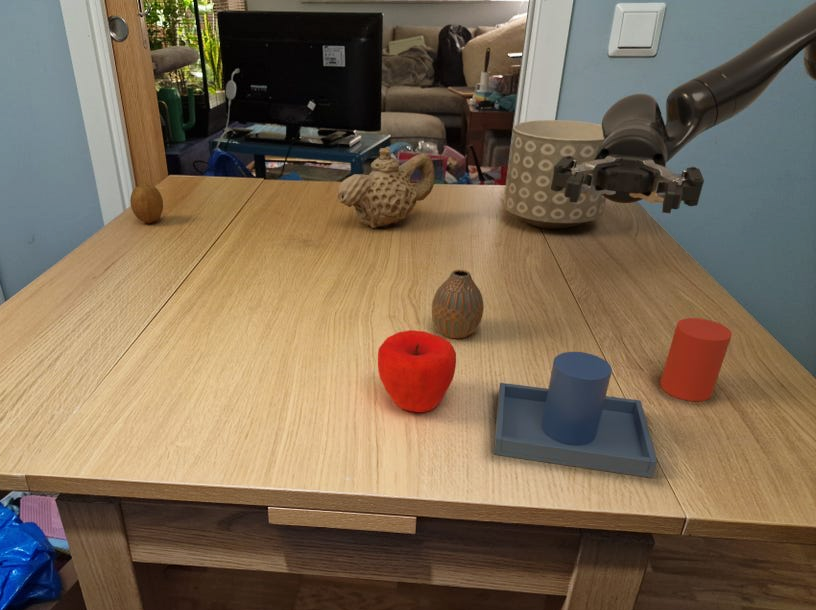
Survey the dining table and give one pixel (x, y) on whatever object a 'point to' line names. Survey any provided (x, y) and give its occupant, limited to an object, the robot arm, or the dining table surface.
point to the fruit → (146, 203)
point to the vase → (457, 306)
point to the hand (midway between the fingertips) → (620, 197)
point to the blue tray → (610, 451)
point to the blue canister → (575, 397)
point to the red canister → (695, 359)
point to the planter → (550, 172)
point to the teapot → (387, 189)
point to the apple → (416, 369)
